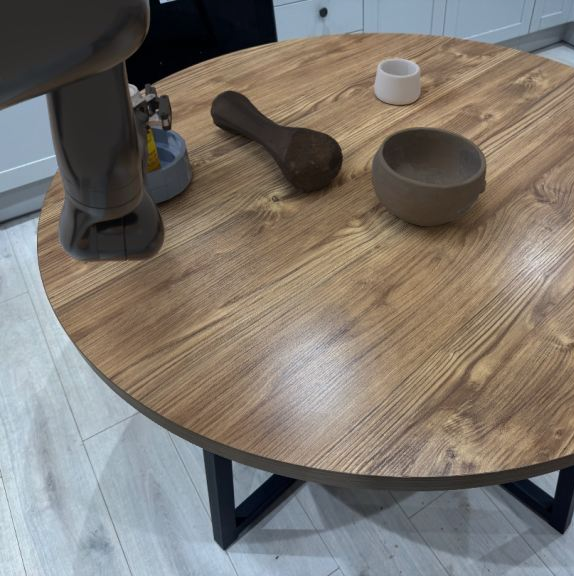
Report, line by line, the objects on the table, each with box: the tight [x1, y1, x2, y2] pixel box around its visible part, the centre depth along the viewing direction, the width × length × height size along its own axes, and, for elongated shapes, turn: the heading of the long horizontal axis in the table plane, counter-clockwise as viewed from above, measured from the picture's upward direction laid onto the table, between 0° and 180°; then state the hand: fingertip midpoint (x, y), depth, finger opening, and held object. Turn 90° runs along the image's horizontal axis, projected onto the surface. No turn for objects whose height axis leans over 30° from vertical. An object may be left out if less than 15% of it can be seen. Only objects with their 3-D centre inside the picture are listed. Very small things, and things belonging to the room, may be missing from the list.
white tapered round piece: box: [373, 58, 422, 106], centre depth 118 cm, size 12×10×6 cm
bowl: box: [370, 126, 488, 227], centre depth 89 cm, size 17×18×10 cm
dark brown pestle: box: [209, 90, 344, 193], centre depth 98 cm, size 11×10×28 cm
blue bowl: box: [146, 126, 193, 205], centre depth 91 cm, size 15×15×6 cm
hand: (118, 92), depth 84 cm, fingers open, 8 cm apart
